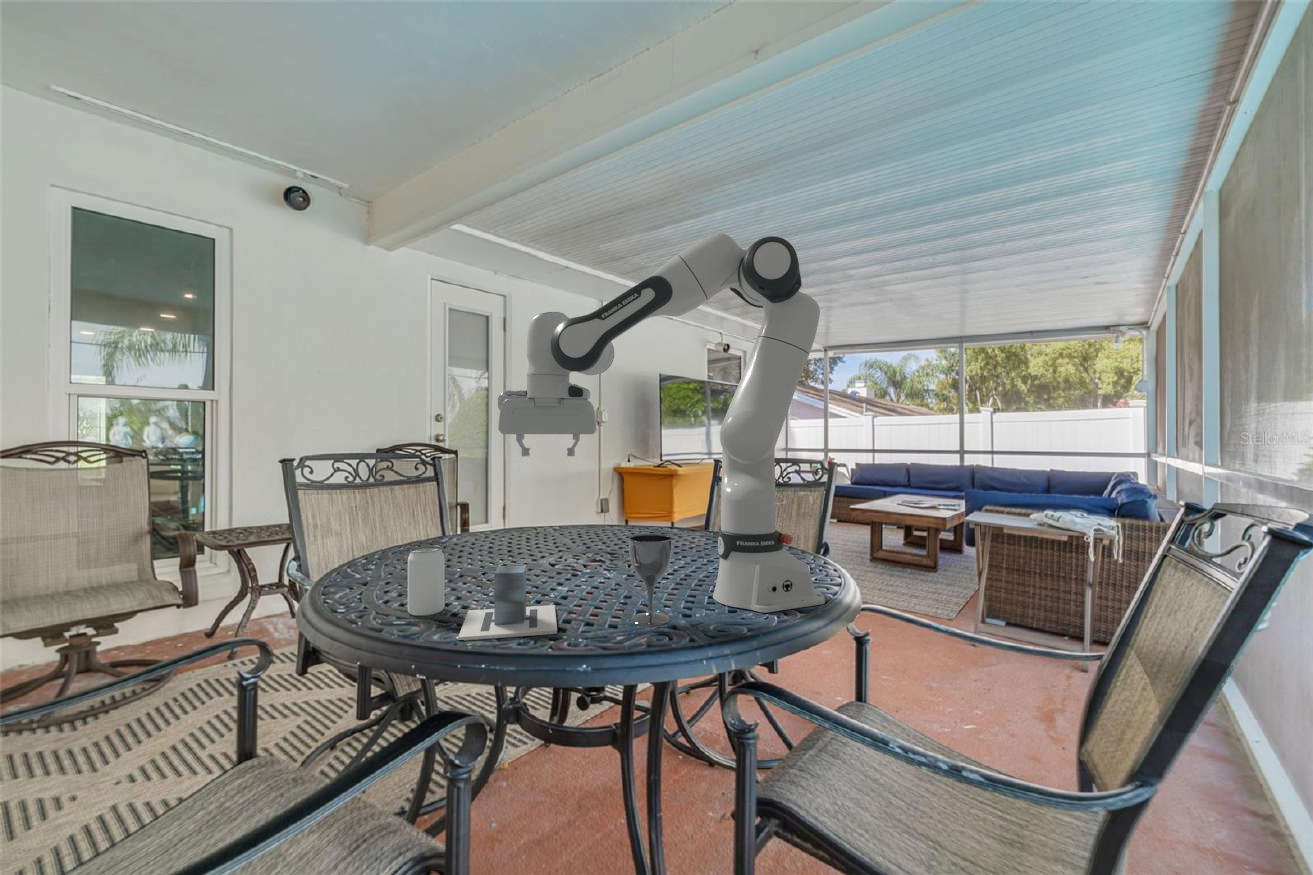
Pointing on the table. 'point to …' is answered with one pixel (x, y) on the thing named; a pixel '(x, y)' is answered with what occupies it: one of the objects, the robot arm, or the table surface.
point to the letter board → (483, 627)
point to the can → (426, 581)
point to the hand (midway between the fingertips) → (548, 456)
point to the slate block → (510, 595)
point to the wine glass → (650, 570)
